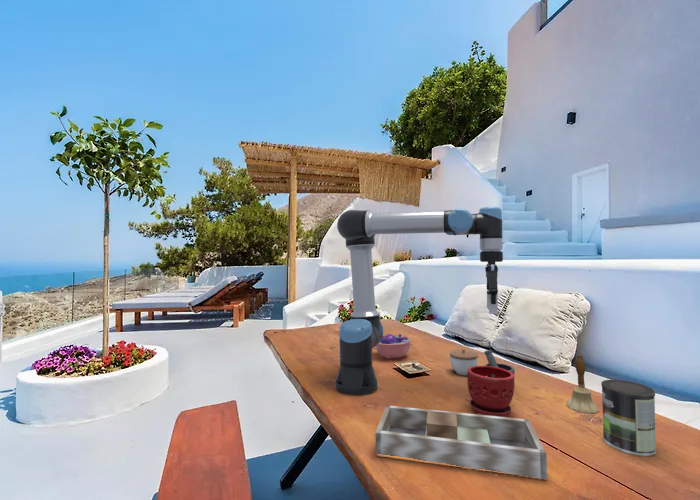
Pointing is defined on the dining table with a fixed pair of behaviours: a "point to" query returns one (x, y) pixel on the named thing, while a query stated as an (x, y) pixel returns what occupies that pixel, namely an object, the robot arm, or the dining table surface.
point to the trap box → (464, 442)
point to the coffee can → (629, 417)
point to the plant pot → (490, 390)
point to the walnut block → (442, 425)
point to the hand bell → (581, 391)
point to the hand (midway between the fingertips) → (492, 310)
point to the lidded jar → (463, 360)
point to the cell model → (393, 346)
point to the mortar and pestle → (493, 363)
